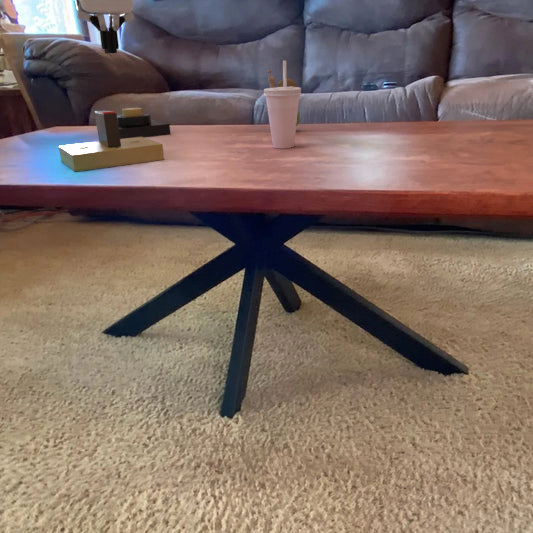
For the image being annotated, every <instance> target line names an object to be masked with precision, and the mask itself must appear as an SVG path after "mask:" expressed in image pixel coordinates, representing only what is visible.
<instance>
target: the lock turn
mask: <svg viewBox="0 0 533 533" xmlns="http://www.w3.org/2000/svg"><path fill="white" fill-rule="evenodd" d="M117 116H118V115H117V112H116V111H115V110H95V111H94V118H95V125H96V130H97V131H96V132H97V136H98V142H99V143H100V144H102V145H104V146H107V147H118V146H121V142H120V135H119V128H118V121H117Z"/></svg>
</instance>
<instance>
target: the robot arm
mask: <svg viewBox="0 0 533 533" xmlns="http://www.w3.org/2000/svg"><path fill="white" fill-rule="evenodd" d="M74 1H75V7H76V10H77V19H79V20H81V21H84V22H88V23H91V25H93V26H94V27H95V29H97V31H98V32H99V36H100V45H101V49H102V50H104V54H117V53H118V50H119V47H120V46H119V37H118V32H119V30H120V28H121V27H122V25H123V24H124V23H127V22H132V21H134V20H135V14H134V12H133V10H134V2H133V0H74ZM107 15H108V27H107V22H106V18H105V16H107Z"/></svg>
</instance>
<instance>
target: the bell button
mask: <svg viewBox="0 0 533 533" xmlns="http://www.w3.org/2000/svg"><path fill="white" fill-rule="evenodd" d="M121 111H122V115H123V117H135V116H143V115H142V114H143V108H142V107H127V108H122V109H121Z"/></svg>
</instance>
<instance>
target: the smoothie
mask: <svg viewBox="0 0 533 533" xmlns="http://www.w3.org/2000/svg"><path fill="white" fill-rule="evenodd" d="M287 78H288V77H287V60H282V79H283V87H277V86H276V88H270V87H267V88H264V89H263V96H264V97H265V100H266V101H265V102H266V108H267V114H268V122H269V127H270V128H269V129H270V135H271V142H272V148H274V149H292V148H294V147H295V142H296V132H297V126H296V124H297V114H298V113H299V104H300V95H302V88H301V87H300V86H299V87H298V86H297V87H287ZM291 147H292V148H291Z"/></svg>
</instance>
